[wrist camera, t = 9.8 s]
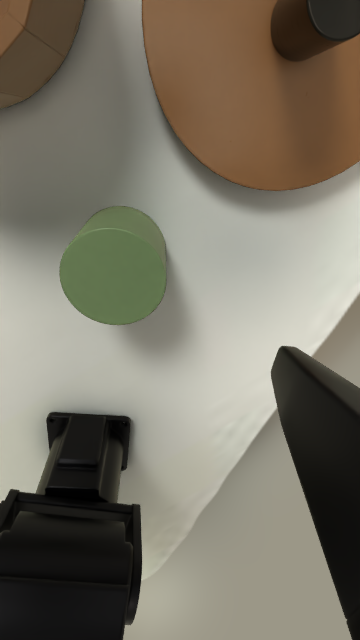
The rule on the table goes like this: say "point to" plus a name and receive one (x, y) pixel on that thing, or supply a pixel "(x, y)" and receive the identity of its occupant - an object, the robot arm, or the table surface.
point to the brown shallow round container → (34, 43)
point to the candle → (115, 267)
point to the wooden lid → (259, 85)
